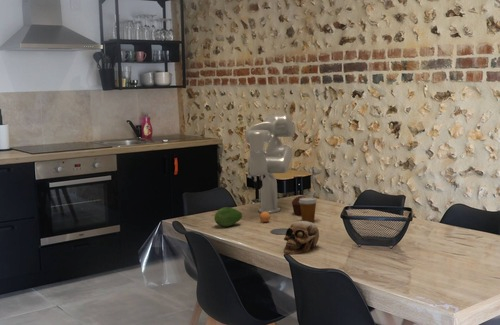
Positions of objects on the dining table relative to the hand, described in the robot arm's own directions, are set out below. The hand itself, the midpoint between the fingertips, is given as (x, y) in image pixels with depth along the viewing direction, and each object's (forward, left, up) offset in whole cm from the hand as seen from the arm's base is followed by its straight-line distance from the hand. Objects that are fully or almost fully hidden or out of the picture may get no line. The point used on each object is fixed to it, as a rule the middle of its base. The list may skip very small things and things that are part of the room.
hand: (258, 187), depth 342 cm
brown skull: (+66, -5, -17) cm, 69 cm away
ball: (+9, 0, -14) cm, 17 cm away
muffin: (+1, +25, -17) cm, 30 cm away
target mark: (+33, 0, -17) cm, 37 cm away
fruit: (+8, -20, -17) cm, 28 cm away
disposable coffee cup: (+18, +21, -17) cm, 33 cm away
